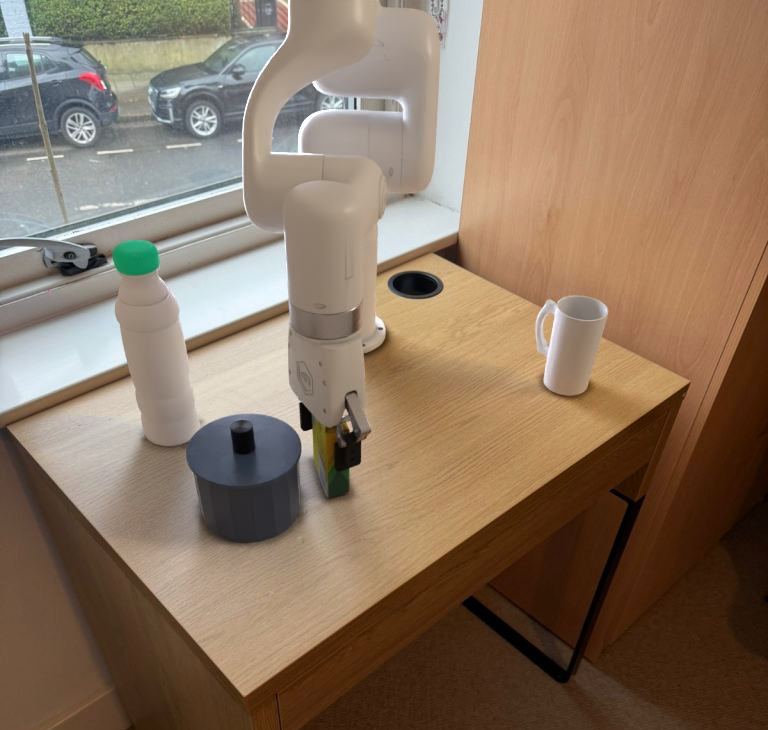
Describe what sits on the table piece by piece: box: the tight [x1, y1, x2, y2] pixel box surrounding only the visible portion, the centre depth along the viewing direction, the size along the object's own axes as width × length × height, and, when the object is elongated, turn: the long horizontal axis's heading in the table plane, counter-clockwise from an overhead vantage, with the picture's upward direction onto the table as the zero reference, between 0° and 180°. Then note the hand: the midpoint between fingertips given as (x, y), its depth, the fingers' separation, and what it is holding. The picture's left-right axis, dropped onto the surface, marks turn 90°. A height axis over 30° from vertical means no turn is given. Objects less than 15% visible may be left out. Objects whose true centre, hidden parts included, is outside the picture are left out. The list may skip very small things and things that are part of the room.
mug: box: [534, 294, 609, 397], centre depth 106 cm, size 10×7×12 cm, turn 43°
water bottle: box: [112, 239, 201, 447], centre depth 90 cm, size 7×7×25 cm
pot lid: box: [185, 413, 302, 489], centre depth 82 cm, size 12×12×4 cm
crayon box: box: [311, 414, 351, 499], centre depth 89 cm, size 7×3×12 cm, turn 16°
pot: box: [192, 460, 302, 544], centre depth 86 cm, size 11×11×8 cm
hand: (330, 445), depth 90 cm, fingers closed on crayon box, 7 cm apart
